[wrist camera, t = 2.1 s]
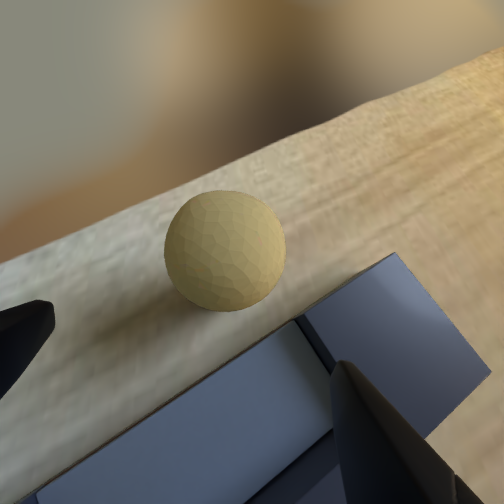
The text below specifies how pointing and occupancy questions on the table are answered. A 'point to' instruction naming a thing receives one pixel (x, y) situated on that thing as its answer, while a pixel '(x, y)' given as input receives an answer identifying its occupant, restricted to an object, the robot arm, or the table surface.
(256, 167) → the table surface
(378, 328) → the storage tray
